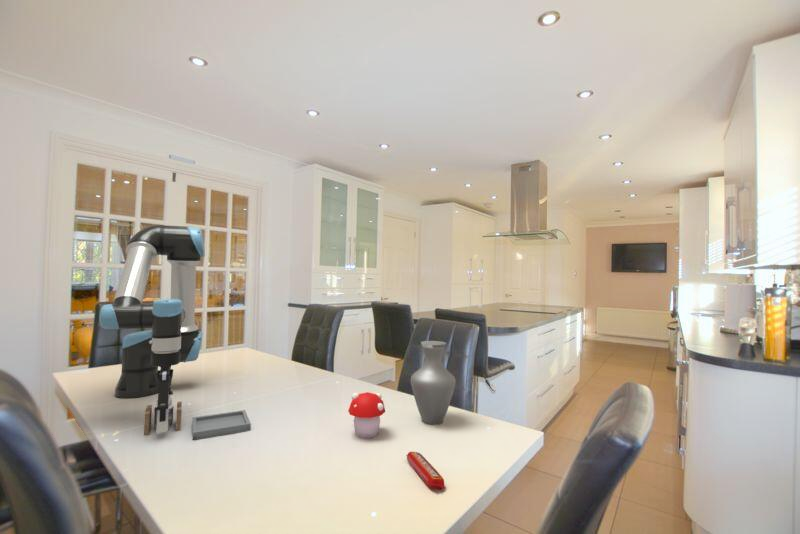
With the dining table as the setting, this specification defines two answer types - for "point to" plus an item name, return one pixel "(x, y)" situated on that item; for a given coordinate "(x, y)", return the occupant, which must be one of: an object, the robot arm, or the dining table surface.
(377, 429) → the mushroom
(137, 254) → the robot arm
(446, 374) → the vase
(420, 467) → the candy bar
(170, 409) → the pill bottle
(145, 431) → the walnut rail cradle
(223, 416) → the slate tray
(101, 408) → the dining table surface
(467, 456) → the dining table surface
